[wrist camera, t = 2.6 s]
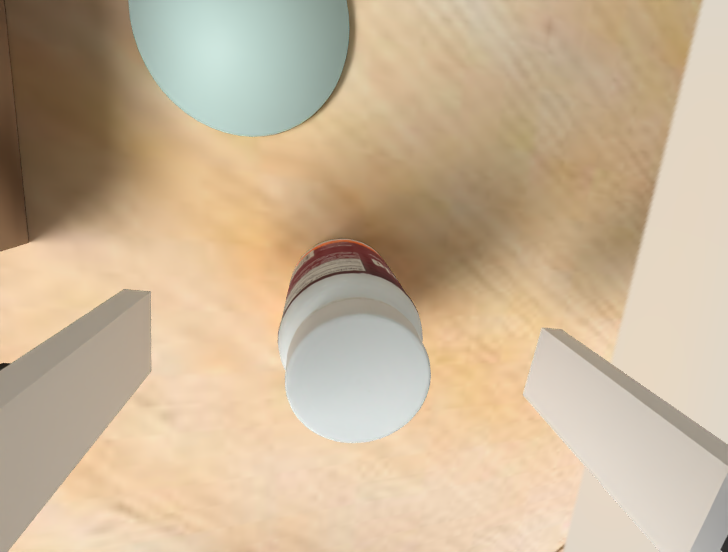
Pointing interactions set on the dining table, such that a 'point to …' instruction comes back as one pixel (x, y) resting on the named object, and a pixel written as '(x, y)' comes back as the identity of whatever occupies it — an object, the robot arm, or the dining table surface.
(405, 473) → the dining table surface
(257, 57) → the disc
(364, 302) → the pill bottle
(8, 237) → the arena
